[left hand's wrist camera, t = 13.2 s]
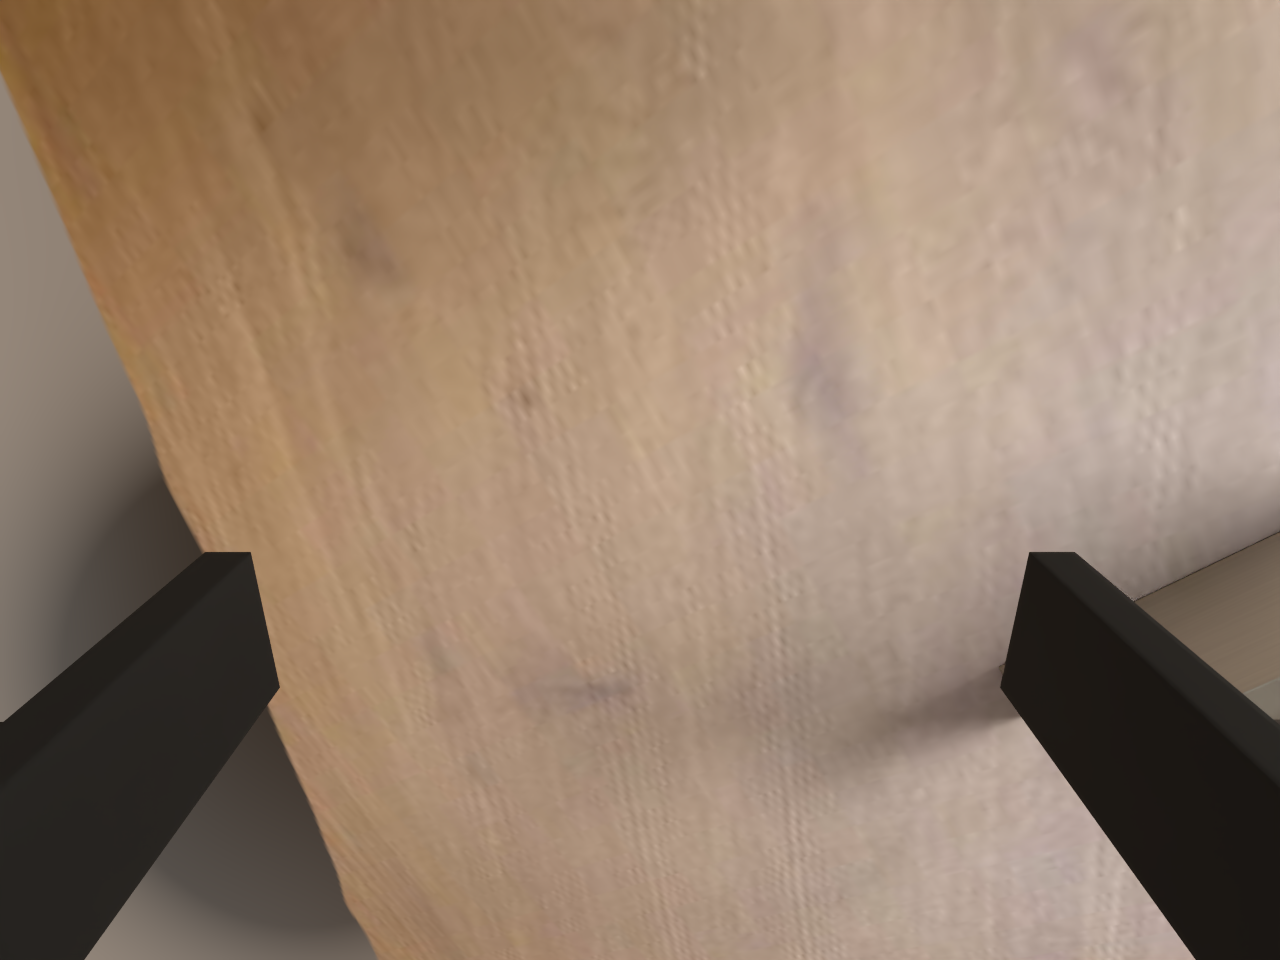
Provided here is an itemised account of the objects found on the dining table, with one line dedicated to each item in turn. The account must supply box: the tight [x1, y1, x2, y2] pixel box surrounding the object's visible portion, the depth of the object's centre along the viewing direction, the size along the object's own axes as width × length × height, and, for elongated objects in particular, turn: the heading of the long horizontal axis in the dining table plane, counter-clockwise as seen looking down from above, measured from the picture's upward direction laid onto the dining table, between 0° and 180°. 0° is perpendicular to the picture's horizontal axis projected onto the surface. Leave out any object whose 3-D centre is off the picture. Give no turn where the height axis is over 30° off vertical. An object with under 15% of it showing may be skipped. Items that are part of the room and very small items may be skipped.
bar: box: [999, 532, 1280, 719], centre depth 40 cm, size 25×4×9 cm, turn 122°
